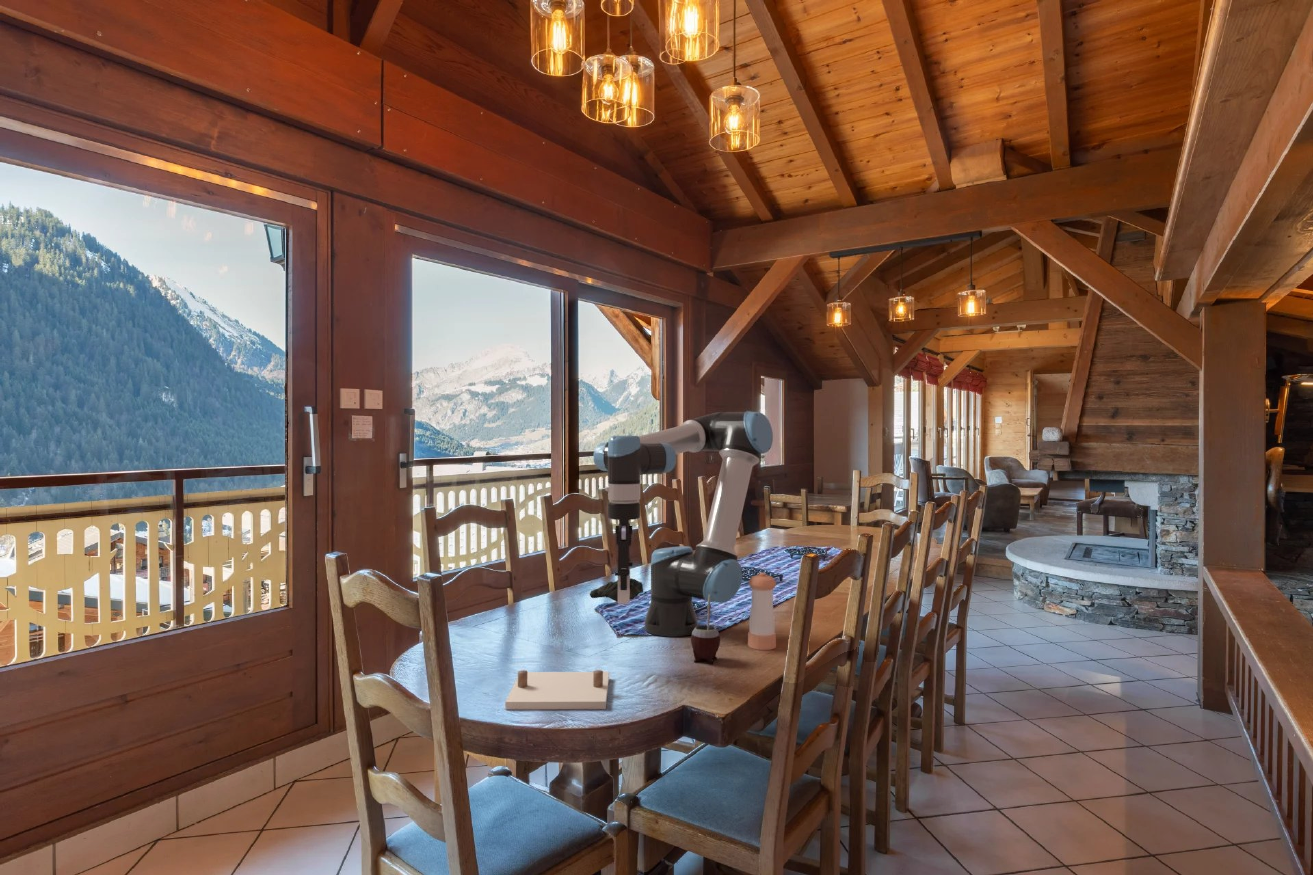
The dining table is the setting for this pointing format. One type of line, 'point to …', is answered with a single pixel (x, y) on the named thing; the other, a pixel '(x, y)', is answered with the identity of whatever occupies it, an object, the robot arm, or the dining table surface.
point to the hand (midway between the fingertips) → (624, 598)
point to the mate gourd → (705, 641)
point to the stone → (612, 590)
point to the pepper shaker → (762, 613)
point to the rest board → (559, 690)
